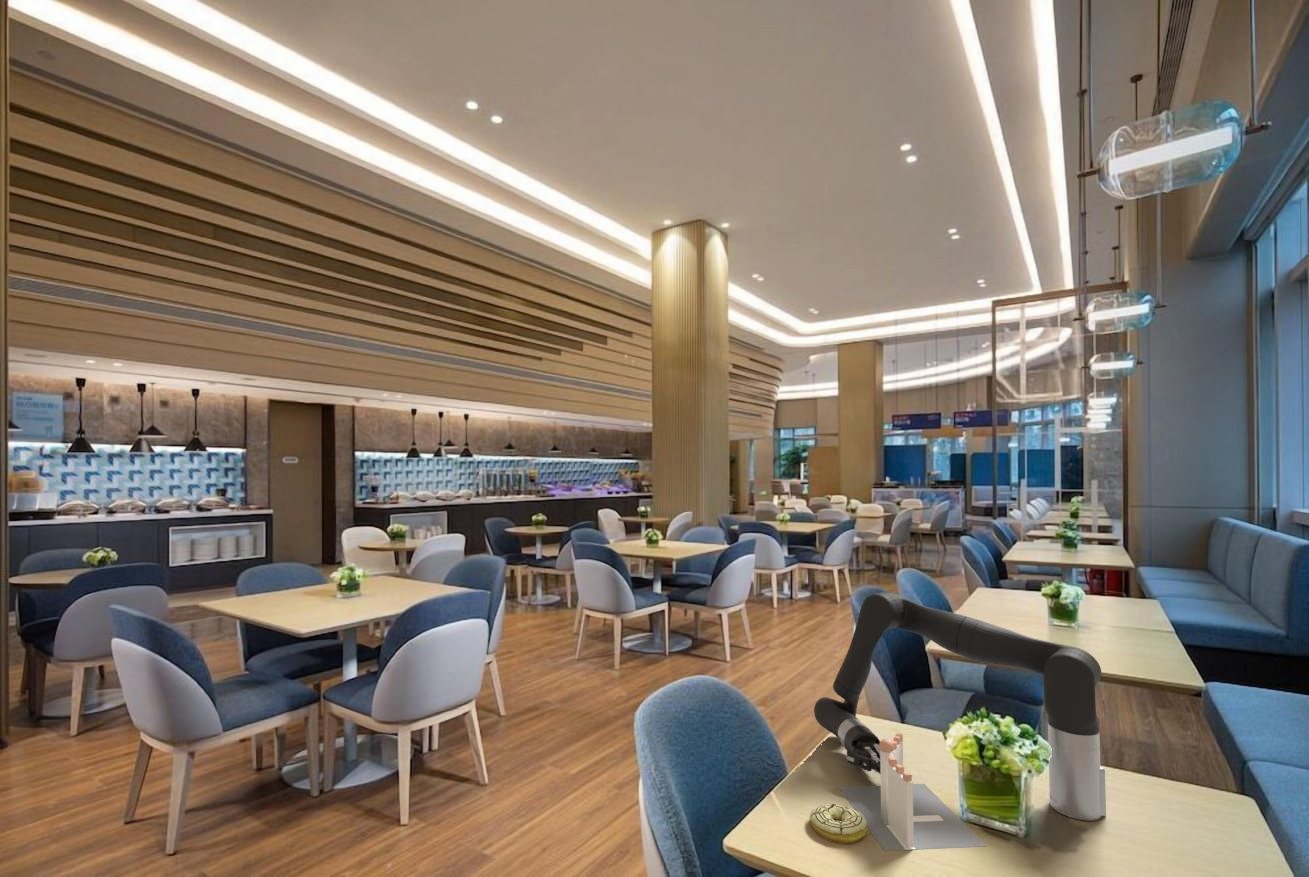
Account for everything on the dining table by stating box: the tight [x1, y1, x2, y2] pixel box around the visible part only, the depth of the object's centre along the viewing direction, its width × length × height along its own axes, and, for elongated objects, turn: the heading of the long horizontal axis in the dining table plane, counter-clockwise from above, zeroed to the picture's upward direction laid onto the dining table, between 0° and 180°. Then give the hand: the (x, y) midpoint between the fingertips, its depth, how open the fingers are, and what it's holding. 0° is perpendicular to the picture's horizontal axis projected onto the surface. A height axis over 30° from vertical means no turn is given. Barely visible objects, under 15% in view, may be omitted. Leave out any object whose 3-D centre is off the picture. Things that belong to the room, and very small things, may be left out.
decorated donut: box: [809, 803, 868, 844], centre depth 129 cm, size 10×11×4 cm
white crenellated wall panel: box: [890, 732, 904, 767], centre depth 137 cm, size 10×1×13 cm, turn 146°
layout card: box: [838, 783, 987, 852], centre depth 134 cm, size 20×24×1 cm
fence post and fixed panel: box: [879, 738, 914, 848], centre depth 128 cm, size 3×11×16 cm, turn 5°
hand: (890, 774), depth 139 cm, fingers closed
